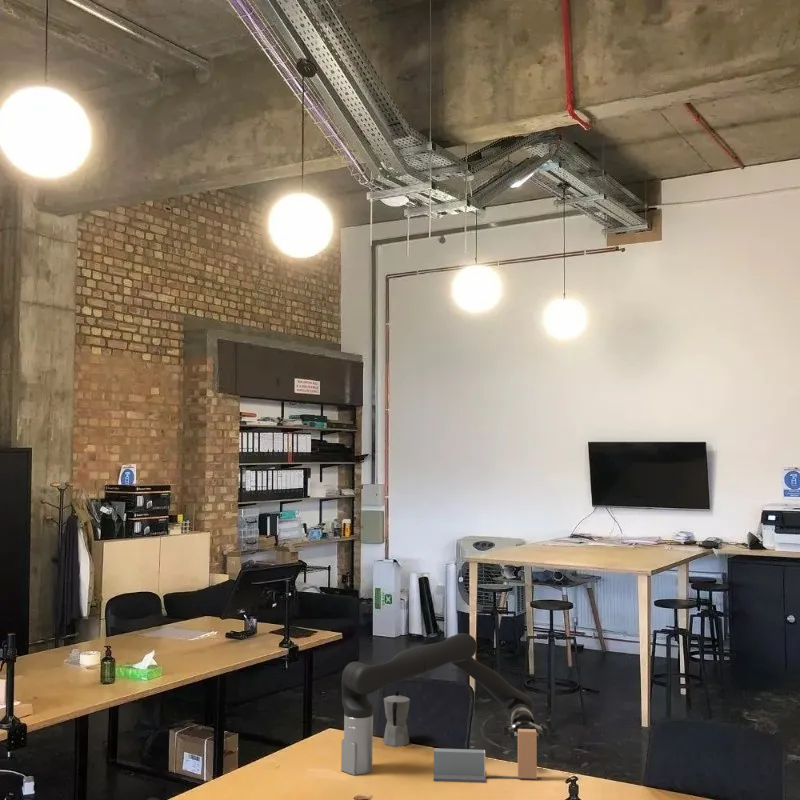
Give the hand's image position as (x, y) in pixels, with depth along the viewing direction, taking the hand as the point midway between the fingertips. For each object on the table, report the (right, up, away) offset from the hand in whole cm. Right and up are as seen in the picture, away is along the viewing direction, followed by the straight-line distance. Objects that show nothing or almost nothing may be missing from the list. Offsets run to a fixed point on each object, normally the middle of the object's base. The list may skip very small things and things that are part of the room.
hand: (526, 736), depth 273 cm
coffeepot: (-42, -14, +28) cm, 52 cm away
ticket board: (-13, -11, -4) cm, 18 cm away
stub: (-1, -11, -5) cm, 12 cm away
